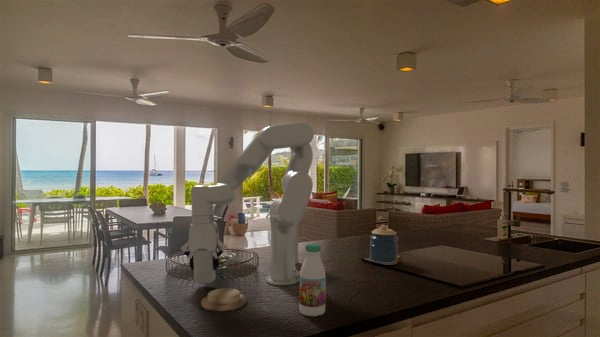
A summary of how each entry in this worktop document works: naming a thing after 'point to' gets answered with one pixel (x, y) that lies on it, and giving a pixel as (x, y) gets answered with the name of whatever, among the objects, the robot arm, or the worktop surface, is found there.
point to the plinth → (223, 300)
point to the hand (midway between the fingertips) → (204, 268)
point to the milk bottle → (312, 283)
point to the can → (203, 267)
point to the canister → (383, 245)
